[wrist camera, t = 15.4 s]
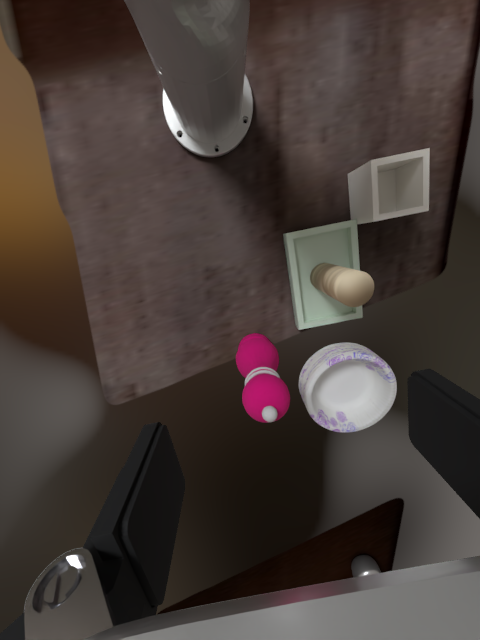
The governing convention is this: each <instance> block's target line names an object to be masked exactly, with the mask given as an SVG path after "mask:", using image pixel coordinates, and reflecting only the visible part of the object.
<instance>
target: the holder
mask: <svg viewBox="0 0 480 640" xmlns="http://www.w3.org/2000/svg"><path fill="white" fill-rule="evenodd" d="M429 156H430V148H427V149H423V150H418V151H413V152H408V153H404V154H399V155H394V156H389V157H384V158H380V159H375V160H371V161H369V162H367V163H366V164H364V165H362V166H361V167H359V168H357V169H356V170H354V171H352V172H351V173H349V174H348V187H349V201H350V216H351V220H354V219H357V224H363V223H370V222H375V221H380V220H385V219H390V218H395V217H400V216H405V215H410V214H415V213H420V212H425V211H429Z"/></svg>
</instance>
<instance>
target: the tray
mask: <svg viewBox="0 0 480 640" xmlns="http://www.w3.org/2000/svg"><path fill="white" fill-rule="evenodd" d="M283 239H284V246H285V253H286V260H287V267H288V274H289V281H290V288H291V296H292V303H293V310H294V317H295V324H296V327H297V328H298V329H299V330H301V329H307V328H312V327H317V326H322V325H327V324H332V323H338V322H342V321H347V320H353V319H358V318H363V313H362V305H361V306H359V307H349V306H346V305H344V304H343V303H341V302H339V301H337V300H336V299H334V298H332V297H330V296H329V295H327V294H325V293H323V292H322V291H320V290H318V289H316V288H315V287H314V286H313V285H312V284H311V281H310V274H311V271H312V270H313V268H314V267H315V266H317V265H318V264H321V263H329V264H333V265H338V266H342V267H346V268H350V269H355V270H359V271H360V264H359V248H358V232H357V219H354V220H349V221H344V222H340V223H335V224H330V225H325V226H320V227H315V228H310V229H305V230H300V231H295V232H290V233H286V234H283Z"/></svg>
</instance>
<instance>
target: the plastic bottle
mask: <svg viewBox="0 0 480 640" xmlns="http://www.w3.org/2000/svg"><path fill="white" fill-rule="evenodd" d="M351 568H352V573H353V576H354V578H355V577H361V576H366V575H372V574H378V573H381V571H380V569H379V566H378V565H377V563H376V562H375V560H374V559H373V558H372V557H370V556H368V555H359V556H357V557H355V558H354V559H353V561H352V566H351Z"/></svg>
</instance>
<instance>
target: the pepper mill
mask: <svg viewBox="0 0 480 640" xmlns="http://www.w3.org/2000/svg"><path fill="white" fill-rule="evenodd" d="M236 363H237V367H238V370H239V371H240V373H241V374H242V375H243V376H244V377H245V378H246V380H245V387H244V390H243V395H242V400H243V405H244V408H245V410H246V411H247V413H248V414H249V415H250V416H251V417H252V418H253V419H255V420H257V421H260V422H273V421H276V420H278V419H280V418H281V417H282V416H283V415H284V414H285V413H286V412H287V410H288V407H289V404H290V394H289V390H288V387H287V385H286V384H285V383H284V381H283V380H282V379H280V376H279V375H278V373H277V372H276V371H277V368H278V365H279V356H278V352H277V349H276V348H275V346H274V345H273V344H272V343H271V342H270V340H269V339H268V338H267V337H266V336H264V335H262V334H257V333H254V334H249V335H247V336H245V337H244V338H243V339H242V340H241V342H240V344H239V347H238V351H237V354H236Z"/></svg>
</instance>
